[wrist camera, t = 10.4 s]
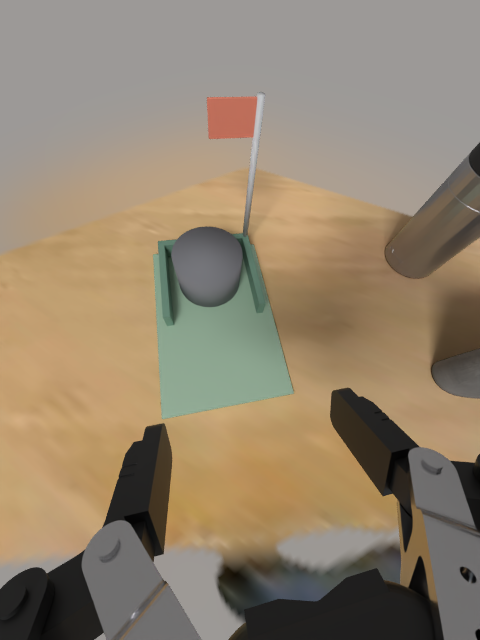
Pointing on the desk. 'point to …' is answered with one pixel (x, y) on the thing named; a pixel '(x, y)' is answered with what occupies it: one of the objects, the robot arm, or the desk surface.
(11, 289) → the desk surface
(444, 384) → the flask
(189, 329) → the mini golf green
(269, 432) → the desk surface
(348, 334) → the desk surface
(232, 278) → the grey domed cylinder
